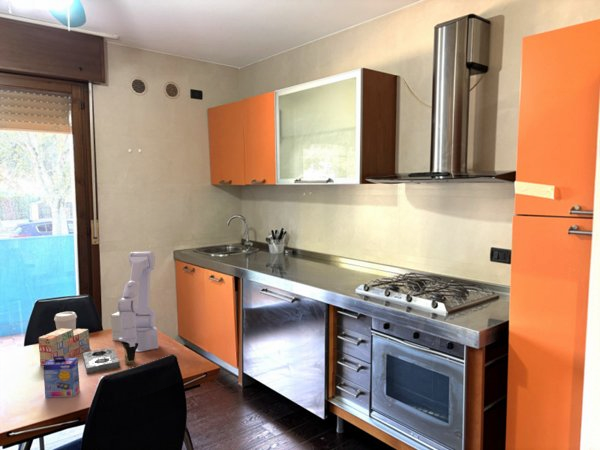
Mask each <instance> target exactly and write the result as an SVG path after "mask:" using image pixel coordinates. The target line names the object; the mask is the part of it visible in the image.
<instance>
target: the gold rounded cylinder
mask: <svg viewBox="0 0 600 450" xmlns="http://www.w3.org/2000/svg"><path fill="white" fill-rule="evenodd" d="M124 362H125V366H132V365H135V364H136V357H135V358H134V360H132V361H129V360H128V357H127V353H126V350H125V349H124Z"/></svg>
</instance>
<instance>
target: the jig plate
mask: <svg viewBox="0 0 600 450" xmlns="http://www.w3.org/2000/svg"><path fill="white" fill-rule="evenodd" d="M82 359H83V363H84V367H85V371H86V374H87V375H90V374H94V373H100V372H104V371H109V370H113V369H114V370H115V369H119V368H120V367H121V365H120V363H121V362H120V360H119V357H118V355H117V353H116V351H115V349H114V347H109V348H104V349H103V348H102V349H97V350H91V351H84V352H82Z"/></svg>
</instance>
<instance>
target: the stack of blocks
mask: <svg viewBox="0 0 600 450" xmlns="http://www.w3.org/2000/svg"><path fill="white" fill-rule="evenodd" d="M89 332H90V330H89V329H88V328H76V329H75V330H73V329H64V328H61V329H59V330H57V329H56V330H54V331H51V332H49V333H47V334H45V335H44V334H43V335H42V336H39V337H38V350H39V352H38V353H39V361H40V363H39V365H40V367H43V364H44V363H46V362H47V361H48V360H49V359H54V358H53V356H64V358H65V359H66V358H75V357H77V356H78V355H80V354H83V353H85V352H87V351H88V350H90V347H91V346H90V333H89ZM56 359H59V358H56ZM61 359H63V358H61Z"/></svg>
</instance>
